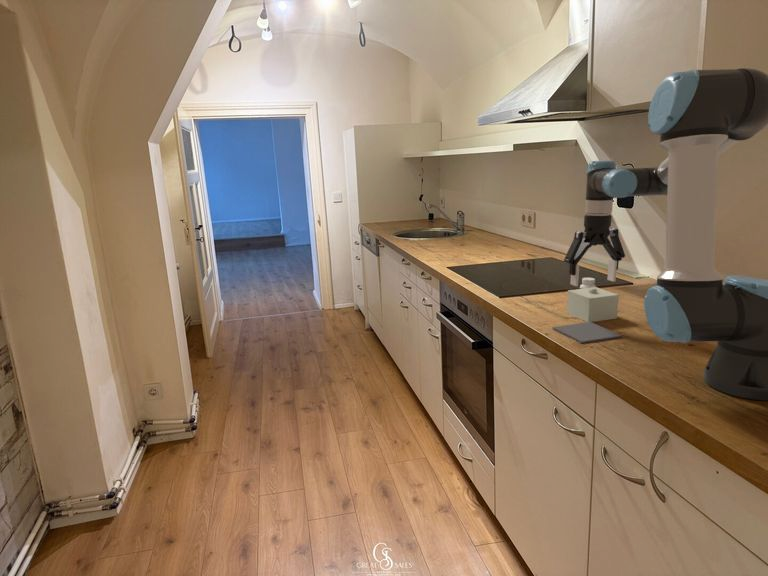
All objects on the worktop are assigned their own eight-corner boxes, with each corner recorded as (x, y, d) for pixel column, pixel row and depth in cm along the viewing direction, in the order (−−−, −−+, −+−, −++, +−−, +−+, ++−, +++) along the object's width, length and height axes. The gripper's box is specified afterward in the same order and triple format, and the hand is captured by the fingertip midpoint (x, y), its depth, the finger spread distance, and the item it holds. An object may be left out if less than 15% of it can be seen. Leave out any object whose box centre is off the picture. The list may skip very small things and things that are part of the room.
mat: (621, 337, 139) (621, 335, 139) (581, 343, 135) (581, 341, 135) (590, 323, 151) (590, 321, 151) (552, 329, 148) (552, 327, 147)
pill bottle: (592, 307, 167) (594, 281, 165) (576, 305, 170) (578, 279, 168) (597, 303, 171) (599, 278, 169) (581, 301, 174) (582, 276, 172)
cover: (616, 318, 155) (619, 291, 153) (588, 322, 152) (589, 295, 150) (594, 309, 165) (595, 284, 163) (566, 313, 162) (568, 287, 160)
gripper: (623, 210, 158) (617, 276, 163) (554, 215, 151) (550, 284, 157) (641, 212, 151) (635, 281, 156) (570, 218, 144) (565, 290, 150)
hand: (592, 282), depth 156 cm, fingers open, 13 cm apart
